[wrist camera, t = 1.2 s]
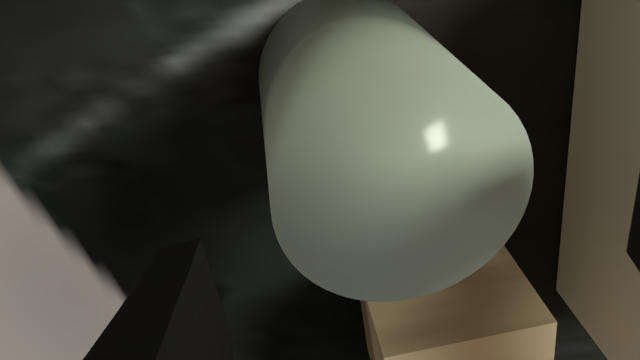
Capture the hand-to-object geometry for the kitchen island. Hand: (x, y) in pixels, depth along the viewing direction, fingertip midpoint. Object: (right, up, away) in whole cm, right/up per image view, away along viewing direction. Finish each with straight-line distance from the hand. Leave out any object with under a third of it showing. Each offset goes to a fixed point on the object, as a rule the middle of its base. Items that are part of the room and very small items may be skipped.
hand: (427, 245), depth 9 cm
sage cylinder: (-1, +4, +7) cm, 9 cm away
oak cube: (+2, -3, +12) cm, 13 cm away
